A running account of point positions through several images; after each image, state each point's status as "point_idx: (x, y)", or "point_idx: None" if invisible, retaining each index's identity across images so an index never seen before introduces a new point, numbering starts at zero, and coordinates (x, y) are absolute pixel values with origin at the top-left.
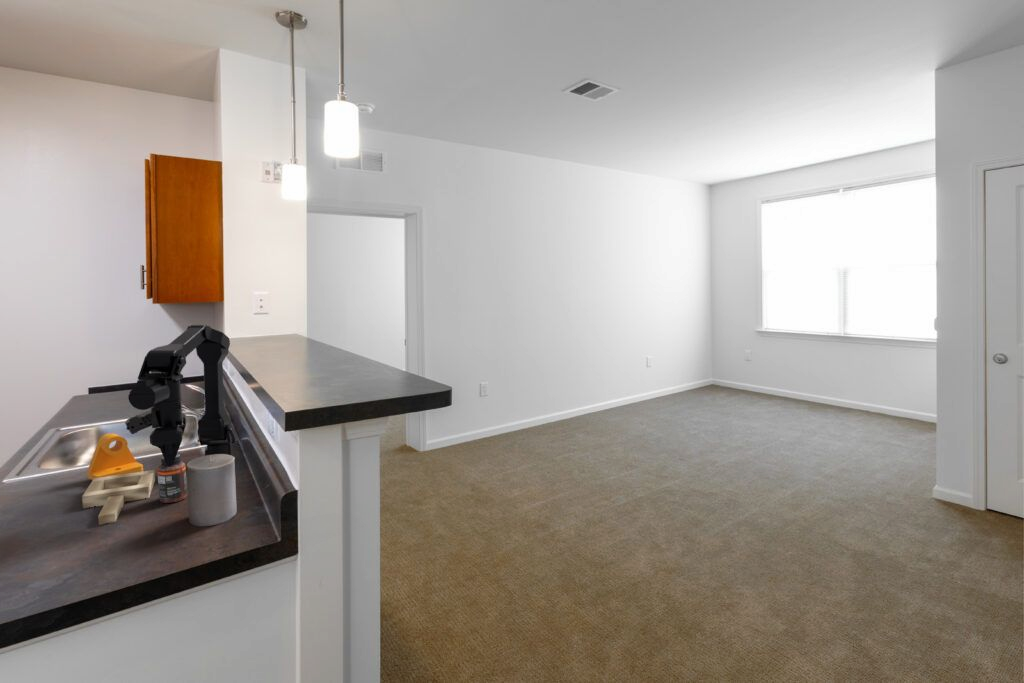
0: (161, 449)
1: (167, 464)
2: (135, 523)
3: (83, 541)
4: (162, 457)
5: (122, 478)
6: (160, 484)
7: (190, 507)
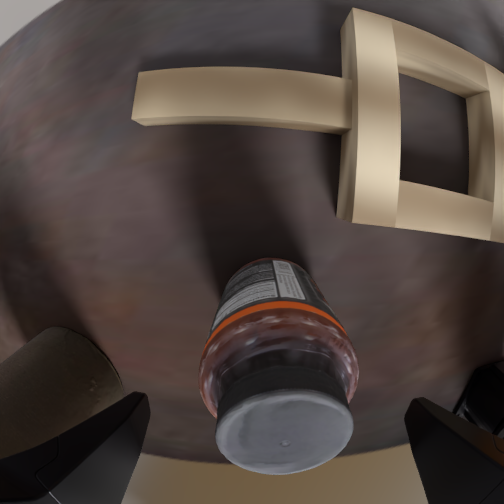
0: (2, 463)
1: (124, 403)
2: (101, 189)
3: (64, 84)
4: (284, 401)
5: (491, 141)
6: (238, 290)
7: (20, 349)
